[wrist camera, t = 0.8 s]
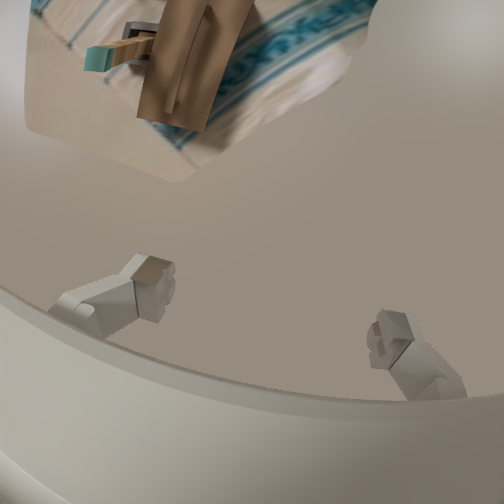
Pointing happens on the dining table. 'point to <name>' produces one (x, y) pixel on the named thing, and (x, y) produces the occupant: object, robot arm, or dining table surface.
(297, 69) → the dining table surface
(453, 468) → the robot arm
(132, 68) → the dining table surface
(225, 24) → the toolbox
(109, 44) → the wooden key
